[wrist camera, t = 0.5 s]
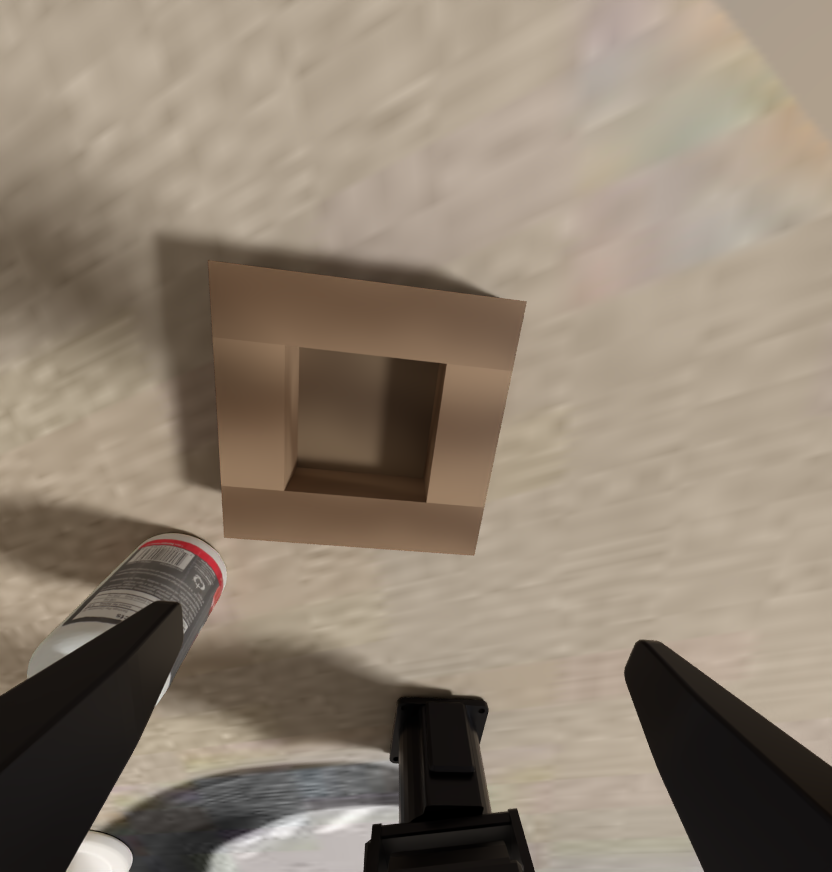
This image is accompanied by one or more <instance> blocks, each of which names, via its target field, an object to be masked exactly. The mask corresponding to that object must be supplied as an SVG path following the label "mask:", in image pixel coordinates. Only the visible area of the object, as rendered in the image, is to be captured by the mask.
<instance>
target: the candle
mask: <svg viewBox="0 0 832 872" xmlns="http://www.w3.org/2000/svg"><path fill="white" fill-rule="evenodd" d="M132 861H133V857H132V853H131V851H130V849H129V848H128V847H127V846H126V845H125V844H124V843H123V842H122V841H120V840H118V839H117V838H115V837H112V836H110V835H107V834H104V833H100V832H95V831H88V833H87V835H86V837H85V838H84V840H83V842H82V844H81V846H80V847H79V849H78V851H77V853H76V854H75V856H74V858H73V860H72V861H71V863H70V865H69V867H68V869H67V870H66V872H128V871H129V869H130V867H131V865H132Z"/></svg>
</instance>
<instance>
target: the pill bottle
mask: <svg viewBox="0 0 832 872" xmlns="http://www.w3.org/2000/svg"><path fill="white" fill-rule="evenodd" d="M226 579H227V570H226V566H225V564H224V562H223V560H222V558H221V556H220V554H219V553H218V552H217V551H216V550H215V549H213V548H212V547H211V546H210V545H208V544H207V543H205V542H204V541H202V540H200V539H198V538H195V537H193V536H190V535H185V534H180V533H167V534H161V535H157V536H154V537H152V538H149V539H147V540H146V541H144V542H143V543H142V544H140V545H139V546H138V547H137V548H136V549H135V550H134V551H133V552H132V553H131V554H130V555H129V556H128V557H127V558H126V559H125V560H124V561H123V562H122V563H121V564H120V565H119V566H118V567H117V568H116V569H114V570H113V571H112V573H110V575H109V576H108V577H107V578H106V579H105V580H103V581H102V582H101V583H100V585H99V586H98V587H97V588H96V589H95V590H94V591H93V592H92V593H91V594H90V595H89V596H88V597H87V598H86V599H85V600H84V601H83V602H82V603H81V604H80V605H79V606H78V607H77V608H76V609H75V610H74V611H73V612H72V613H71V614H70V615H69V616H68V617H67V618H66V619H65V620H64V621H63V622H62V623H61V624H60V625H58V626H57V627H56V628H55V629H54V630H53V631H52V632H51V633H50V634H49V635H48V636H47V637H46V638H45V639H44V640H43V641H42V642H41V644H40V645H39V646H38V647H37V649H36V650H35V651H34V653H33V655H32V657H31V659H30V662H29V665H28V670H27V679H28V678H30V677H32V676H33V675H35V674H37V673H38V672H40V671H41V670H43V669H45V668H46V667H48V666H50V665H51V664H53V663H55V662H56V661H58V660H59V659H61V658H63V657H64V656H66V655H68V654H69V653H71V652H72V651H74V650H76V649H77V648H79V647H81V646H82V645H84V644H85V643H87V642H89V641H90V640H92V639H94V638H95V637H97V636H99V635H100V634H102V633H103V632H105V631H107V630H108V629H110V628H112V627H113V626H115V625H116V624H118V623H120V622H121V621H123V620H125V619H126V618H128V617H129V616H131V615H133V614H134V613H136V612H138V611H139V610H141V609H143V608H144V607H146V606H147V605H149V604H151V603H153V602H155V601H158V600H163V601H175V602H179V603H180V604H181V606H182V614H183V630H184V639H183V644H182V647H181V650H180V652H179V654H178V656H177V659H176V661H175V663H174V665H173V667H172V670H171V672H170V674H169V676H168V678H167V681H166V683H165V685H164V687H163V690H162V692H161V694H160V696H159V698H158V701H157V703H158V702H159V701H160V699H161V698H162V696H163V695H164V693H165V692H166V691H167V689H168V688H169V686H170V685H171V682H172V680H173V678H174V676H175V674H176V673H177V671H178V669H179V667H180V665H181V663H182V662H183V660H184V658H185V657H186V655H187V653H188V651H189V649H190V648H191V646H192V644H193V642H194V641H195V639H196V637H197V636H198V634H199V632H200V630H201V629H202V627H203V625H204V624H205V622H206V620H207V618H208V616H209V615H210V613H211V611H212V610H213V608H214V606H215V605H216V603H217V601H218V599H219V597H220V596H221V594H222V592H223V590H224V588H225V585H226ZM157 703H156V705H157ZM156 705H155V706H156Z"/></svg>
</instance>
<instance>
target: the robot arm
mask: <svg viewBox="0 0 832 872" xmlns="http://www.w3.org/2000/svg"><path fill="white" fill-rule="evenodd" d="M183 639H184V630H183V614H182V606H181V604H180V603H179V602H175V601H163V600H158V601H155V602H153V603H151V604H149V605H147V606H146V607H144V608H143V609H141V610H139V611H138V612H136V613H134V614H133V615H131V616H129V617H128V618H126V619H125V620H123V621H121V622H120V623H118V624H116V625H115V626H113V627H112V628H110V629H108V630H107V631H105V632H103V633H102V634H100V635H99V636H97V637H95V638H94V639H92V640H90V641H89V642H87V643H85V644H84V645H82V646H81V647H79V648H77V649H76V650H74V651H72V652H71V653H69V654H68V655H66V656H64V657H63V658H61V659H59V660H58V661H56V662H55V663H53V664H51V665H50V666H48V667H46V668H45V669H43V670H41V671H40V672H38V673H37V674H35V675H33V676H32V677H30V678H28V679H27V680H25V681H24V682H22V683H20V684H19V685H17V686H15V687H14V688H12V689H11V690H9V691H7V692H6V693H4V694H2V695H1V696H0V872H66V870H67V869H68V867H69V865H70V863H71V861H72V860H73V858H74V856H75V854H76V853H77V851H78V849H79V847H80V846H81V844H82V842H83V840H84V838H85V837H86V835H87V833H88V831H89V830H90V828H91V826H92V824H93V822H94V821H95V819H96V817H97V815H98V814H99V812H100V810H101V808H102V807H103V805H104V803H105V801H106V799H107V798H108V796H109V794H110V792H111V791H112V789H113V787H114V785H115V783H116V782H117V780H118V778H119V776H120V775H121V773H122V771H123V769H124V767H125V766H126V764H127V762H128V760H129V759H130V757H131V755H132V753H133V751H134V749H135V747H136V746H137V744H138V742H139V740H140V738H141V735H142V733H143V731H144V729H145V727H146V725H147V723H148V720H149V718H150V716H151V714H152V712H153V709H154V707H155V705H156V703H157V701H158V698H159V696H160V694H161V692H162V690H163V687H164V685H165V683H166V681H167V678H168V676H169V674H170V672H171V670H172V667H173V665H174V663H175V661H176V659H177V656H178V654H179V652H180V650H181V647H182V644H183ZM624 676H625V681H626V684H627V687H628V690H629V692H630V695H631V698H632V701H633V703H634V706H635V709H636V712H637V714H638V717H639V720H640V723H641V725H642V728H643V731H644V734H645V736H646V739H647V742H648V745H649V747H650V750H651V753H652V755H653V758H654V760H655V763H656V766H657V768H658V770H659V773H660V775H661V777H662V780H663V782H664V784H665V787H666V789H667V791H668V793H669V795H670V798H671V800H672V802H673V804H674V806H675V809H676V811H677V813H678V815H679V817H680V819H681V822H682V824H683V826H684V828H685V830H686V833H687V835H688V837H689V839H690V841H691V844H692V846H693V848H694V850H695V852H696V855H697V857H698V859H699V861H700V863H701V866H702V868H703V870H704V872H832V766H830V765H829V764H827V763H826V762H825V761H823V760H822V759H821V758H819V757H818V756H816V755H815V754H814V753H812V752H811V751H810V750H808V749H807V748H806V747H804V746H803V745H801V744H800V743H799V742H797V741H796V740H795V739H793V738H792V737H790V736H789V735H788V734H786V733H785V732H784V731H782V730H781V729H779V728H778V727H777V726H775V725H774V724H773V723H771V722H770V721H768V720H767V719H766V718H764V717H763V716H762V715H760V714H759V713H758V712H756V711H755V710H753V709H752V708H751V707H749V706H748V705H747V704H745V703H744V702H742V701H741V700H740V699H738V698H737V697H736V696H734V695H733V694H731V693H730V692H729V691H727V690H726V689H725V688H723V687H722V686H720V685H719V684H718V683H716V682H715V681H714V680H712V679H711V678H710V677H708V676H707V675H705V674H704V673H703V672H701V671H700V670H699V669H697V668H696V667H694V666H693V665H692V664H690V663H689V662H688V661H686V660H685V659H683V658H682V657H681V656H679V655H678V654H677V653H675V652H674V651H673V650H671V649H670V648H668V647H667V646H666V645H664V644H663V643H661V642H659V641H654V640H639V641H637V642H636V643H635V645H634V648H633V650H632V652H631V654H630V657H629V659H628V661H627V664H626V666H625V670H624ZM487 715H488V705H487V703H486V702H485V701H482V700H459V699H433V698H408V697H404V698H400V699H399V700H398V702H397V707H396V714H395V721H394V727H393V734H392V741H391V748H390V761H391V762H392V763H399V824H390V825H382V823H381V824H373V826H372V835H371V840H369V841H368V842H367V843H365V855H364V872H535V870H534V867H533V863H532V860H531V856H530V853H529V849H528V846H527V842H526V839H525V835H524V831H523V828H522V824H521V821H520V817H519V814H518V810H517V808H515V809H508V811H507V812H498V813H492V812H491V807H490V801H489V795H488V790H487V784H486V779H485V773H484V768H483V762H482V757H481V751H480V746H479V745H480V741H481V737H482V733H483V730H484V726H485V722H486V718H487Z"/></svg>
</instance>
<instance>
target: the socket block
mask: <svg viewBox="0 0 832 872" xmlns="http://www.w3.org/2000/svg"><path fill="white" fill-rule="evenodd" d="M208 271H209V288H210V305H211V322H212V339H213V356H214V373H215V390H216V407H217V424H218V441H219V458H220V475H221V492H222V509H223V526H224V538H237V539H251V540H265V541H278V542H292V543H306V544H320V545H334V546H348V547H362V548H376V549H390V550H404V551H418V552H432V553H446V554H460V555H474V554H475V549H476V544H477V539H478V534H479V530H480V525H481V520H482V515H483V510H484V505H485V501H486V496H487V491H488V486H489V481H490V476H491V472H492V467H493V462H494V457H495V452H496V447H497V443H498V438H499V433H500V428H501V423H502V418H503V414H504V409H505V404H506V399H507V394H508V389H509V385H510V380H511V375H512V370H513V365H514V360H515V356H516V351H517V346H518V341H519V336H520V331H521V327H522V322H523V317H524V312H525V307H526V301H519V300H511V299H503V298H496V297H488V296H480V295H472V294H465V293H457V292H449V291H442V290H434V289H426V288H418V287H411V286H403V285H395V284H388V283H380V282H372V281H364V280H357V279H349V278H341V277H334V276H326V275H318V274H311V273H303V272H295V271H287V270H280V269H272V268H264V267H257V266H249V265H241V264H233V263H226V262H218V261H210V260H208Z"/></svg>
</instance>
